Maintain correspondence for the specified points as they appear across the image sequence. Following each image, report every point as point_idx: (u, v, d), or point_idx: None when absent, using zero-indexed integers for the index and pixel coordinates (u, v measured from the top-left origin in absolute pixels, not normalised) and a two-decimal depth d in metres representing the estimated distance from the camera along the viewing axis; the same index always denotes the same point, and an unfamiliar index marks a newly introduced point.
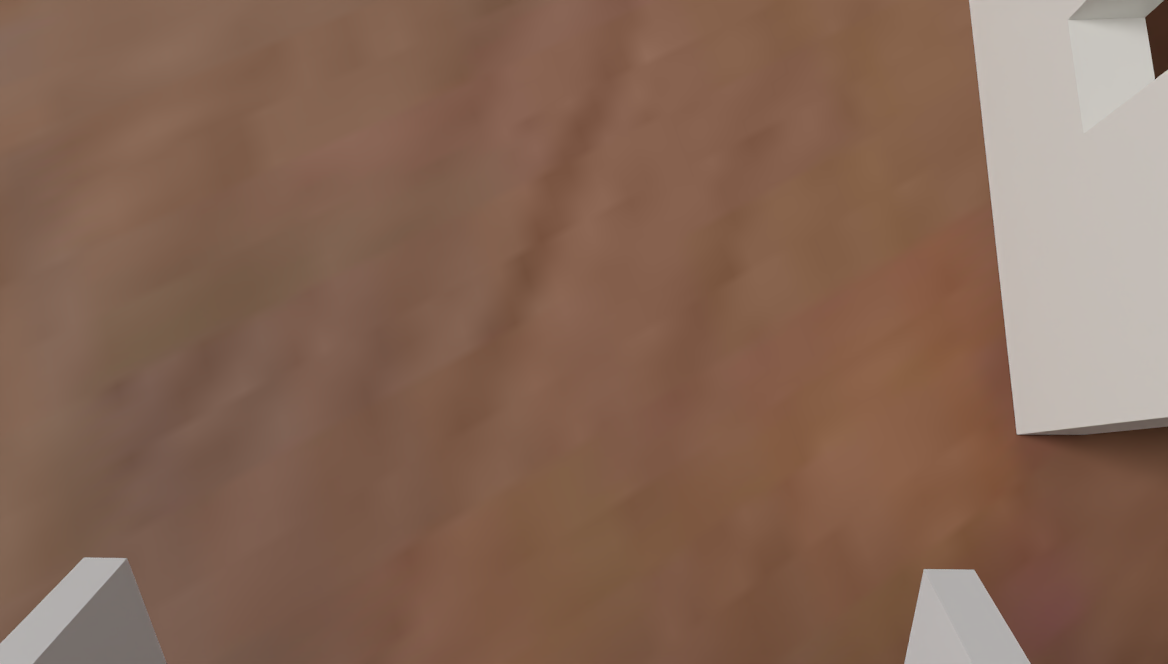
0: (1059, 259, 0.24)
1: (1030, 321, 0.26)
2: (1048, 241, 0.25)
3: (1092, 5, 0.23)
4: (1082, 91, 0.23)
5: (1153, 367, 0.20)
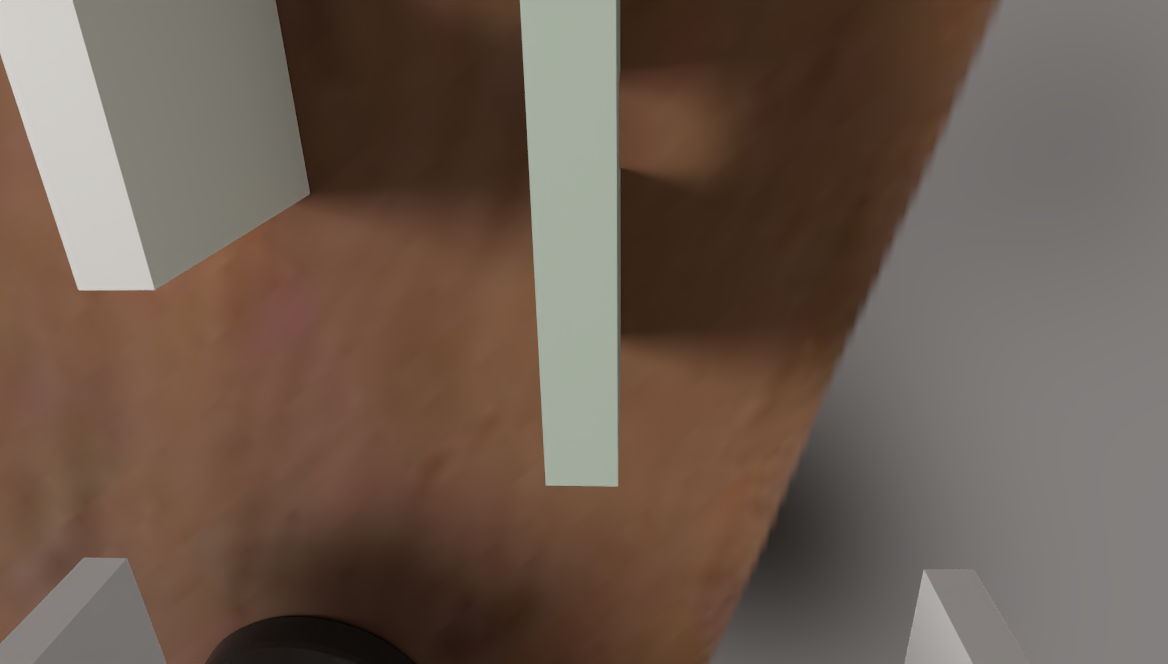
0: None
1: None
2: None
3: None
4: None
5: None
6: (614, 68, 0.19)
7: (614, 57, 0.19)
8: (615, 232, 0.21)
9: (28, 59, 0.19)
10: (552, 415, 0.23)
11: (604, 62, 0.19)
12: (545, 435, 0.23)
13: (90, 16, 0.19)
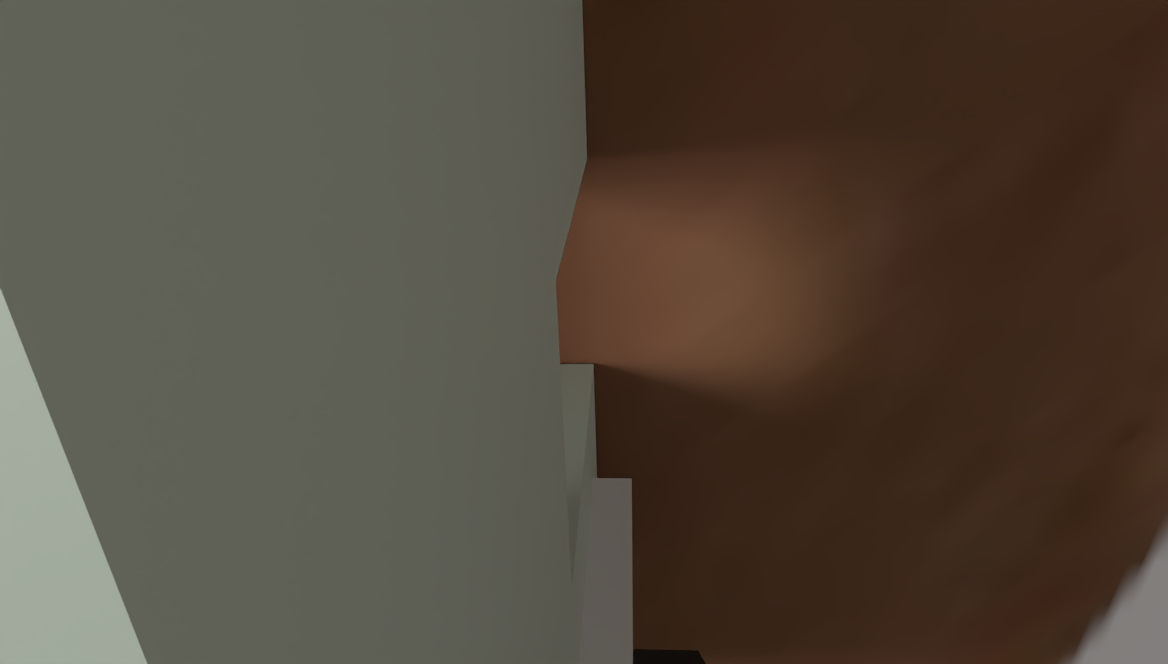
0: None
1: None
2: None
3: None
4: None
5: None
6: None
7: None
8: None
9: None
10: None
11: None
12: None
13: None
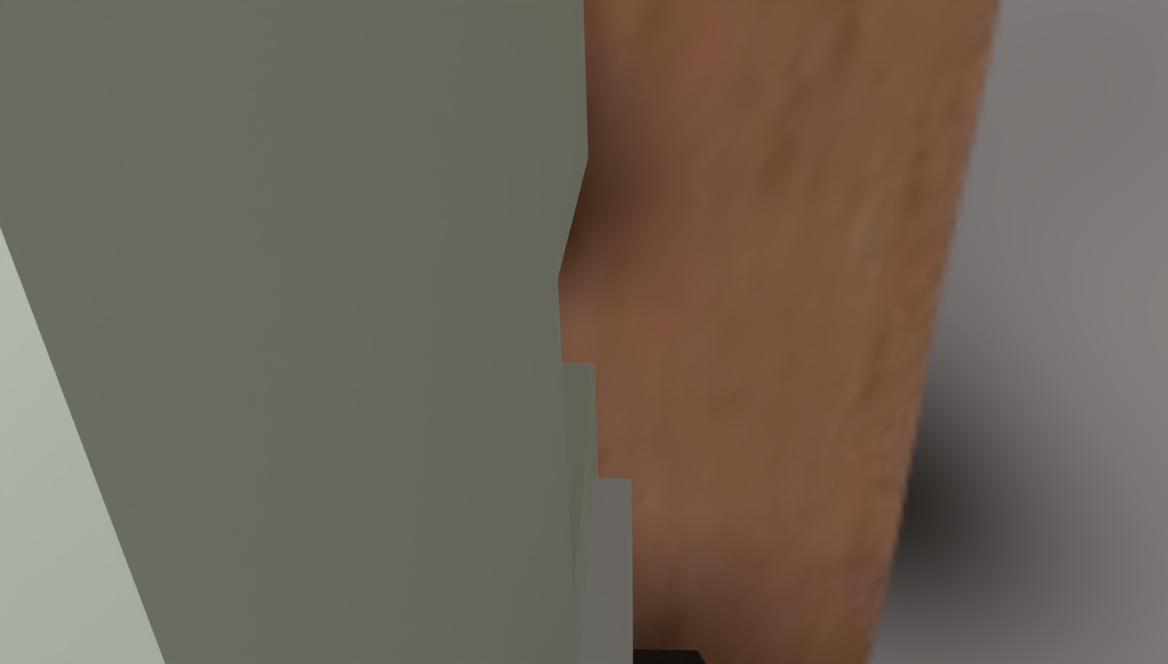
0: None
1: None
2: None
3: None
4: None
5: None
6: None
7: None
8: None
9: None
10: None
11: None
12: None
13: None
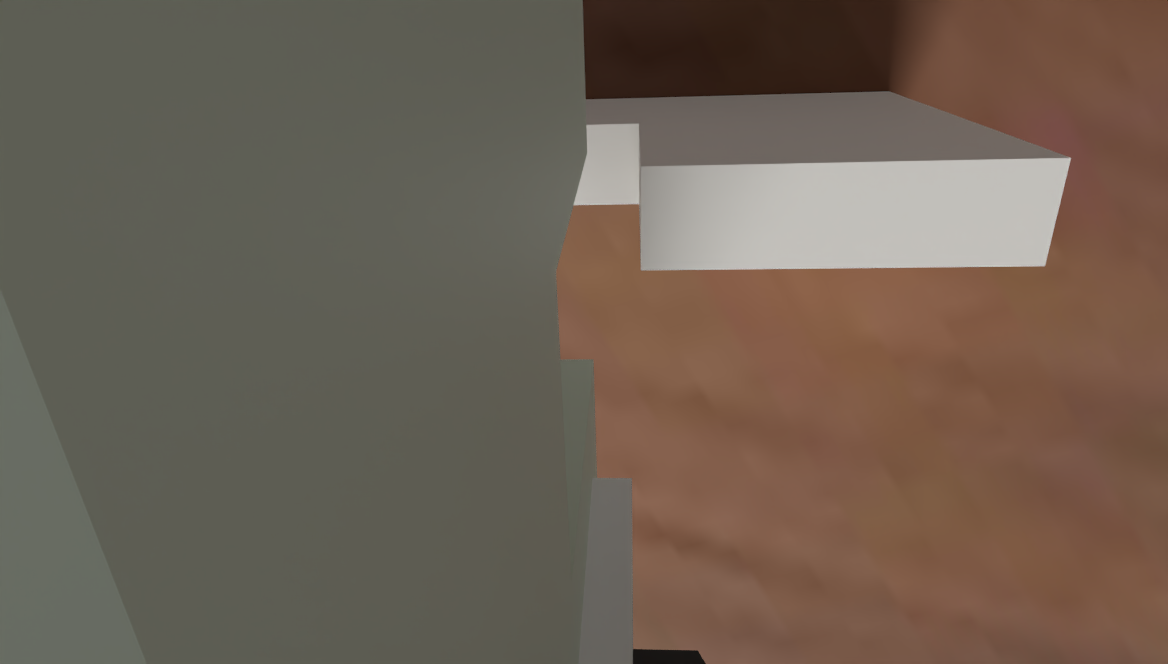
0: None
1: None
2: None
3: None
4: (590, 199, 0.22)
5: None
6: None
7: None
8: None
9: (748, 238, 0.16)
10: None
11: None
12: None
13: (704, 160, 0.16)
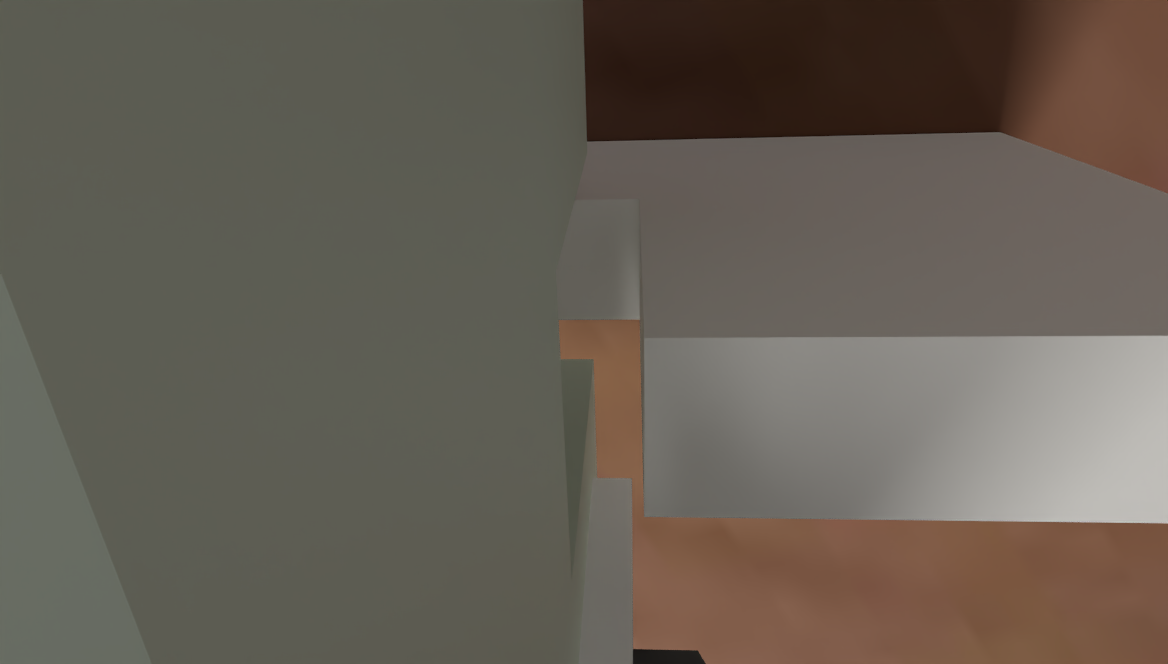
0: None
1: None
2: None
3: None
4: (564, 312, 0.14)
5: None
6: None
7: None
8: None
9: (855, 468, 0.08)
10: None
11: None
12: None
13: (770, 318, 0.08)
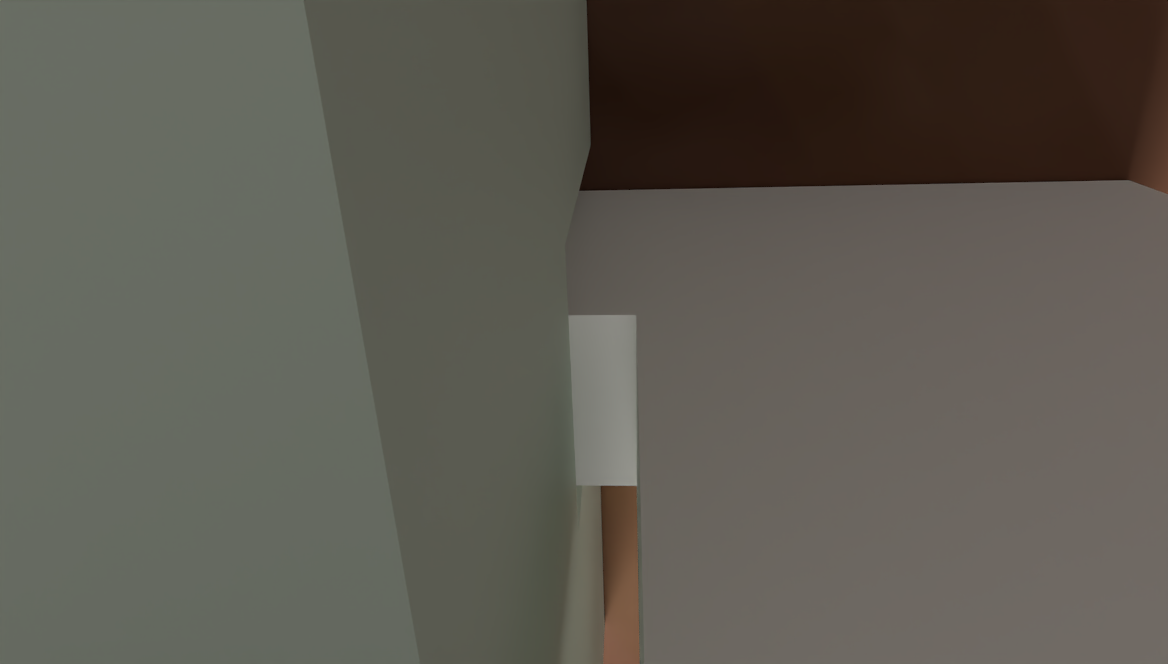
0: None
1: None
2: None
3: None
4: None
5: None
6: (380, 515, 0.02)
7: (368, 440, 0.02)
8: None
9: None
10: None
11: (287, 475, 0.02)
12: None
13: None
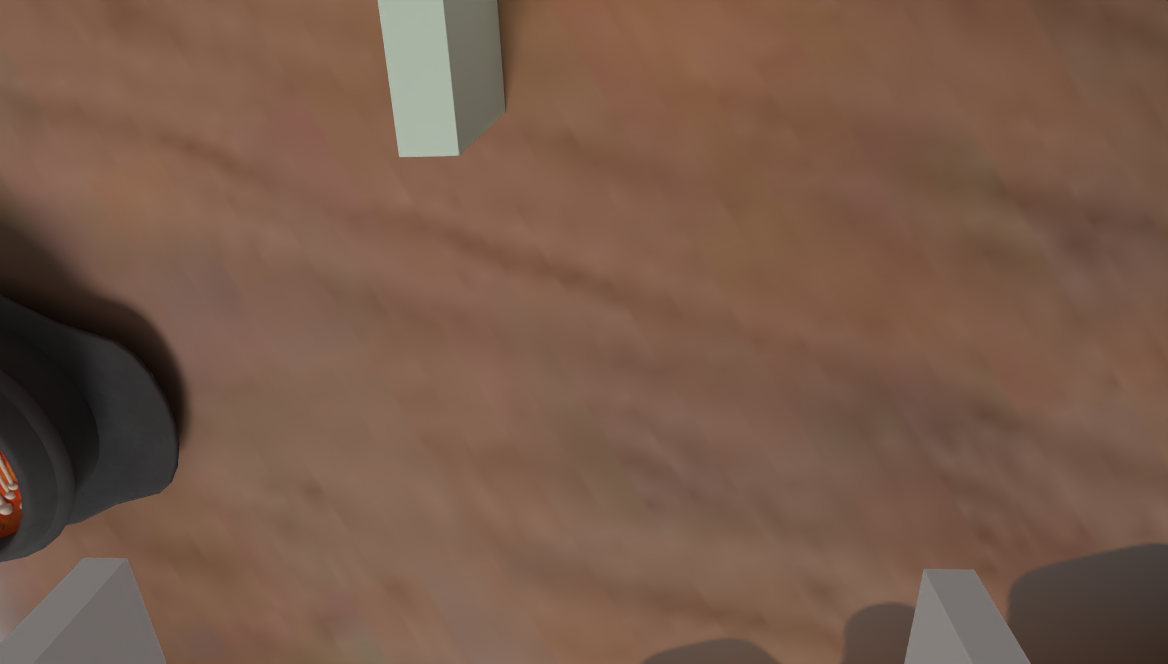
0: None
1: None
2: None
3: None
4: None
5: None
6: None
7: None
8: None
9: None
10: (398, 85, 0.28)
11: None
12: (394, 105, 0.28)
13: None
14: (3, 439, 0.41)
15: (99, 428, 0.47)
